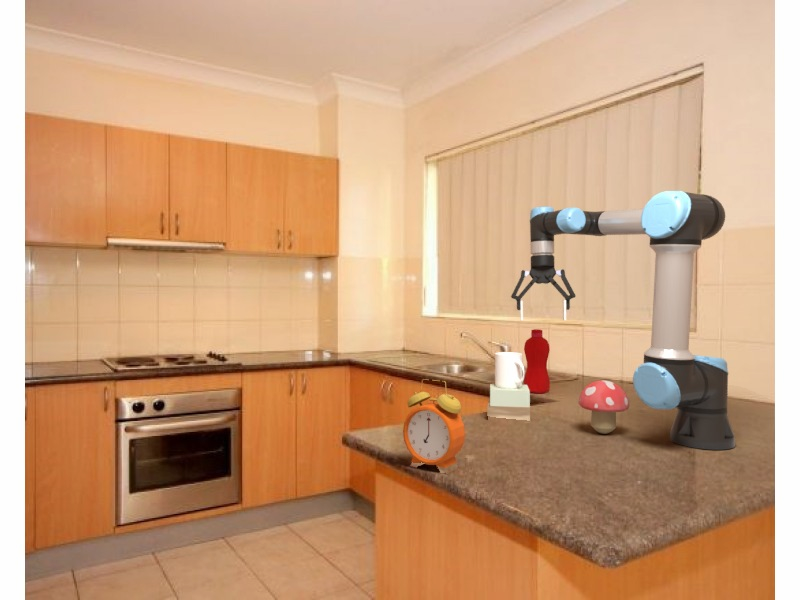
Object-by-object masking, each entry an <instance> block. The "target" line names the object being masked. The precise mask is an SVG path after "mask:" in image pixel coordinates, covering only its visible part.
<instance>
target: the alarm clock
mask: <svg viewBox="0 0 800 600" xmlns="http://www.w3.org/2000/svg"><path fill="white" fill-rule="evenodd" d="M424 380H427V381H428V379H427V378H426V379H424V378H423V379H421V383H423V381H424ZM433 381H437V382H439V379H437V380H435V379H433ZM443 382H444V386H445V390H447V382H446V381H445V380H443ZM420 386H421V390H419V391H418V392H417V391H414V392H413V393H414V394H413V395H412V396H410V397H409V398H408V400H407V406H408V407H407V408H411V407H414V406H417V405H420V406H417V407H415V408H413V409H412V410H411V411H410V412H409V413H408V414H407V416H406V419H405V421H404V422H403V428H402V434H403V441H404V444H405V447H406V449H407V451H408V452H409V453H410V454H411V457H412V458H411V461H410V463H411V462H413V463H421V462H422V463H425V465H426V466H427V465H429V466H432V465H433V466H436V467H437V466H439V467H444V468H446V467H448V466H450V465H452V464H454V463H456V462H457V460H456V459H457V458H456V455H457V454H458V453H459V452H461V450H462V448H463V446H464V444H465V438H466V430H465V424H464V422H463V419H462V417H461V415H460V414H459V413H460V412H461V409H462V405H461V402H460V401H459V399H457V398H456V397H455V396H454V395H452V394H448V393H447V391H445V393H444V394H443V393H442V394H441V395H439V396H438V397H437V398H435V397H432V396H431V395H430V393H429V392H426V391H423V385H420ZM428 399H429V401H431V402H429V403H426V404H423V402H424V401H427V400H428ZM457 463H458V462H457Z"/></svg>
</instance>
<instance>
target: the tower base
mask: <svg viewBox="0 0 800 600" xmlns="http://www.w3.org/2000/svg"><path fill="white" fill-rule="evenodd" d="M486 409H487V411H486V412H487V413H486V414H487V415H486V416H490V417H496V418H506V419H516V420H527V421H530V422H531V406H530V407H504V406H490V397H489V399H488V402H487V408H486Z"/></svg>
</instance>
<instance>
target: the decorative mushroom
mask: <svg viewBox="0 0 800 600" xmlns="http://www.w3.org/2000/svg"><path fill="white" fill-rule="evenodd" d="M578 405H579V406H580V407H581V408H582V409H585V410H588V411H591V416H590V417H591V419H590V425H591V427H592V428H593V429H594V430H595V431H596V432H598V433H599V434H602V435H606V434H609V433H611V432H613V431H614V430H615V429H616V428H617V414H616V413H619V412H620V413H621V412H624V411H627V410H629V408H630V400H629V397H628V395H627V394H626V391H625V390H624V389H623V388H622V387H621V386H620V385H619V384H616V383H615V382H612V381H609V380H603V379H602V380H595V381H592V382H591V383H589V384H587V385H586V386H585V387H584V388H583V389H582V391H581V392H580V394H579V398H578Z"/></svg>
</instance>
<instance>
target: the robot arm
mask: <svg viewBox="0 0 800 600" xmlns="http://www.w3.org/2000/svg"><path fill="white" fill-rule="evenodd" d="M554 210H555V209H554V208H553V207H552V206H536V207H533V208H531V209H530V214H529V215H530V219H529V225H530V226H529V231H530V232H529V233H530V234H529V235H530V236H529V237H530V244H529V245H530V254H531V255H532V256H530V270H524V269H522V270H521V272H520V277H519V280H518V281H517V284H516V286H515V287H514V290H513V291H512V294H511V296H510V297H511V299H513V300H515V301H516V310H517V311H520V312H519V313H520V317H519V318H520V321H524V300H521V299H522V298H523V297H524V296H525V295H526V293H528V291H529V290H531V288H532V286H533V285H534V284H535V283H536V284H537V285H540V284H545V285H546V284H551V286H552V285H553V287H554V289H556V290H557V291H558V292H559V294H560V295H561V296H562V297H563V298H564V299H562V321H567V311H568V310H570V309H571V301H570V300H572V299H574V298H576V293H575V292H574V289H573V288H572V286H571V284H570V282H569V280H568V279H567V277H566V272H565V269H564V268H562V269H559V270H556V269H555V256H554V254H555V236H557V235H577V236H578V235H579V236H580V235H582V236H583V235H584V236H594V237H606V236H621V235H623V236H625V235H629V236H630V235H633V236H634V235H647V236H648V237H649V248H651V249H652V250H653V252H654V253H655V258H654V259H655V260H654V261H655V262H654V263H655V264H654V281H653V301H652V302H653V303H652V320H651V321H652V322H651V339H650V340H651V341H650V347H649V348H648V349H647V350H645V351H644V353H643V363H642V364H640V365H639V366H638V368H636V369H635V370H634V373H633V375H632V376H633V377H632V385H633V388H634V392H635V393H636V395H637V397H638V398H640V401H641V402H642V403H643V404H644V405H646V406H648V407H649V408H652V409H655V410H672V409H676V408H677V411H676V415H675V417H674V420H673V423H672V425H671V428H670V435H669V436H670V437H669V438H670V440H671V442H673V443H675V444H677V445H681V446H683V447H684V446H685V447H688V448H693V449H701V450H711V451H713V450H714V451H715V450H716V451H719V450H720V451H721V450H722V451H723V450H730V449H733V448H735V447H736V437H735V433H734V431H733V428H732V425H731V422H730V420H729V419H730V418H729V417H728V396H729V395H728V393H729V392H728V384H729V383H728V382H729V380H728V379H729V371H728V363H727V360H726V359H724V358H722V357H717V356H716V357H714V356H707V355H697V354H694V353H692V352H691V351H690V348H689V347H690V346H689V345H690V331H691V329H690V328H691V313H692V291H693V277H694V276H693V275H694V274H693V273H694V260H695V259H694V258H695V253H696V252H697V251H698V250H699V249H700V248H701V247H702V241H705V240H707V239H710V238H712V237H714V236H716V234H718V233H719V232H720V231H721V230H722V228H723V226H724V225H725V221H726V210H725V208H724V206H723V205H722V203H721V201H720V200H718V199H717V198H715V197H714V196H711V195H708V194H703V193H701V194H699V193H693V192H687V191H682V190H666V191H661V192H659V193H657V194H655V195H653V196H652V197H651V198H650V200H649V201H647V202H646V204H645V206H644V207H643V208H630V209H618V210H601V211H586V210H582V209H581V208H579V207H566V208H564V209H558V210H555V211H554ZM528 275H529V276H530V278H531V280H530V282H529V283H527V285H526V286H525V287H524V288H523V290H522V291H521V292H520V293H519V294H518V291H519V290H520V288H521V286H522V283H523V282H524V279H525V278H527V277H528ZM556 275H558V277H560V278H561V281H562V282H563V284H564V286H565V288H566V290H567V292H568V294H569V295H568V294H567V292H566V291H565V290H564V289H563V288H562V287H561V286H560V285H559V284H558V282H557V281H556V280H555V279H554V278H555V276H556ZM517 294H518V295H517Z"/></svg>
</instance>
